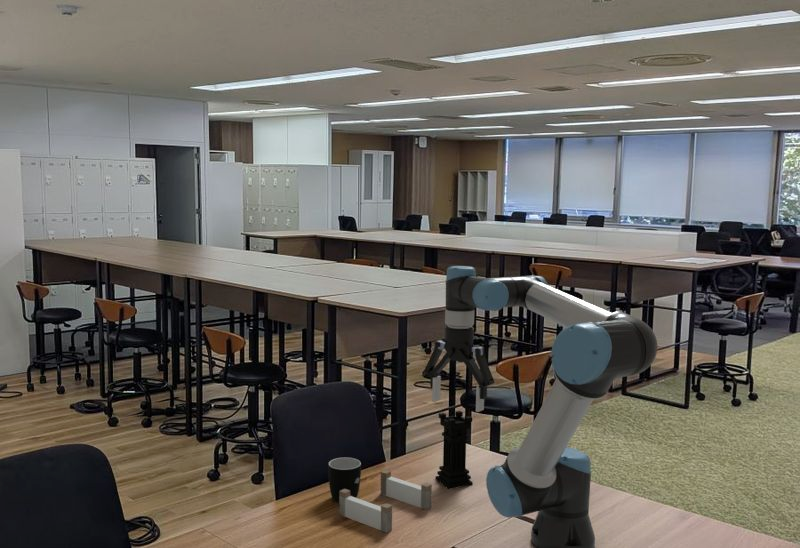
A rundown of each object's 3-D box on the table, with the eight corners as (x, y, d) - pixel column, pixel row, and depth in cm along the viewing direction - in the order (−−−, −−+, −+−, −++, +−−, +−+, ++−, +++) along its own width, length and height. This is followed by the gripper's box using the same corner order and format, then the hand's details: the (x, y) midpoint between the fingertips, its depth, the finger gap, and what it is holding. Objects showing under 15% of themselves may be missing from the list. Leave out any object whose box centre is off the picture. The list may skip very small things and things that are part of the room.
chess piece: (435, 478, 212) (436, 413, 210) (458, 474, 215) (460, 410, 213) (448, 489, 205) (450, 421, 203) (472, 484, 208) (474, 417, 206)
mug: (358, 506, 192) (358, 470, 191) (325, 504, 193) (325, 468, 192) (364, 488, 204) (364, 454, 203) (333, 486, 205) (333, 452, 204)
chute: (431, 507, 193) (431, 484, 192) (386, 532, 178) (387, 508, 177) (385, 491, 202) (385, 469, 202) (339, 514, 187) (339, 491, 187)
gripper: (509, 329, 181) (506, 411, 183) (428, 318, 196) (427, 393, 198) (493, 334, 175) (491, 418, 177) (412, 321, 190) (411, 399, 192)
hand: (457, 405), depth 188 cm, fingers open, 13 cm apart
